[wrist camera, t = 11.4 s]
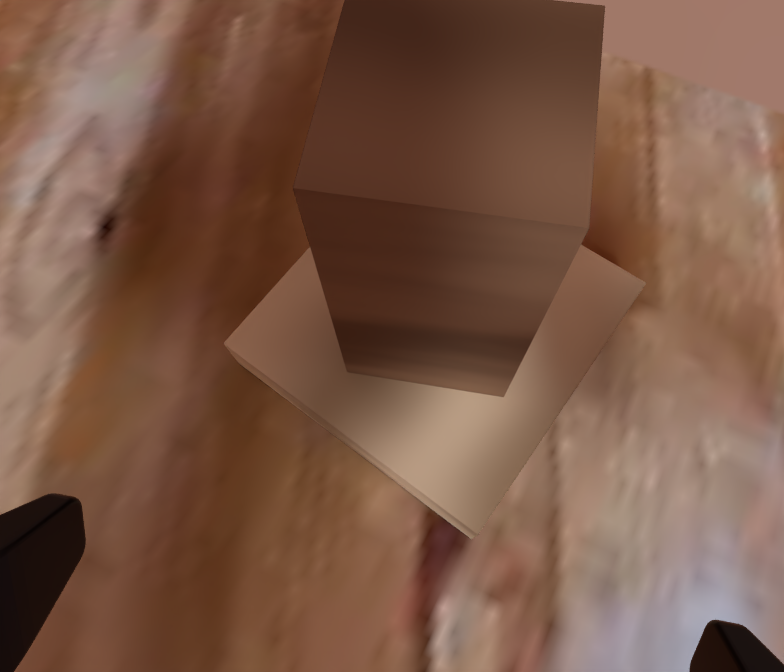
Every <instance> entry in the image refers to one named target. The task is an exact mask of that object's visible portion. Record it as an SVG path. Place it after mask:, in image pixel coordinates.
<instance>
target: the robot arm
mask: <svg viewBox="0 0 784 672" xmlns="http://www.w3.org/2000/svg"><path fill="white" fill-rule="evenodd" d="M85 543H86V538H85V529H84V521H83V512H82V505H81V502H80V501H79V499H77V498H76V497H72V496H67V495H61V494H56V493H52V494H48V495H45V496H42V497H40V498H38V499H36V500H33V501H31V502H29V503H26V504H24V505H22V506H20V507H17V508H15V509H13V510H10V511H8V512H6V513H4V514H1V515H0V672H14V671H15V669H16V668H17V666H18V665H19V663H20V662H21V660H22V659H23V657H24V656H25V654H26V653H27V651H28V650H29V648H30V646H31V645H32V643H33V641H34V640H35V638H36V636H37V635H38V633H39V631H40V629H41V628H42V626H43V624H44V622H45V621H46V619H47V617H48V615H49V614H50V612H51V610H52V608H53V607H54V605H55V603H56V601H57V600H58V598H59V596H60V594H61V593H62V591H63V589H64V587H65V586H66V584H67V582H68V580H69V579H70V577H71V575H72V573H73V572H74V570H75V568H76V566H77V565H78V563H79V561H80V559H81V557H82V555H83V552H84V549H85ZM690 672H784V664H783V663H782V662H781V661H780V660H779V659H778V658H777V657H776V656H775V655H774V654H773V653H772V652H771V651H770V650H769V649H768V648H767V647H766V646H765V645H764V644H763V643H762V642H761V641H760V640H759V639H758V638H757V637H756V636H755V635H754V634H753V633H752V632H751V631H749V630H748V629H747V628H746V627H744V626H743V625H740V624H736V623H731V622H726V621H720V620H712V621H710V622H709V623H708V624H707V625H706V627H705V629H704V632H703V634H702V636H701V639H700V641H699V643H698V646H697V648H696V650H695V653H694V655H693V657H692V660H691V664H690Z"/></svg>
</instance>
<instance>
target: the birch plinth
mask: <svg viewBox="0 0 784 672" xmlns="http://www.w3.org/2000/svg"><path fill="white" fill-rule="evenodd" d="M645 284H646V283H645V282H644V281H642V280H640V279H639V278H637V277H635V276H634V275H632V274H630V273H629V272H627V271H625V270H623V269H622V268H620V267H618V266H617V265H615V264H613V263H612V262H610V261H608V260H606V259H605V258H603V257H601V256H600V255H598V254H596V253H595V252H593V251H591V250H589V249H588V248H586V247H584V246H583V245H580V247H579V249H578V251H577V253H576V255H575V257H574V259H573V261H572V263H571V265H570V267H569V269H568V271H567V273H566V275H565V277H564V279H563V281H562V283H561V285H560V287H559V289H558V291H557V293H556V295H555V297H554V299H553V301H552V303H551V305H550V307H549V309H548V311H547V313H546V315H545V317H544V319H543V321H542V323H541V325H540V326H539V328H538V330H537V332H536V334H535V336H534V338H533V340H532V342H531V344H530V346H529V348H528V350H527V352H526V354H525V356H524V358H523V360H522V362H521V364H520V366H519V368H518V370H517V372H516V374H515V376H514V378H513V380H512V382H511V384H510V386H509V388H508V390H507V392H506V394H505V396H504V397H498V396H492V395H486V394H480V393H474V392H467V391H461V390H455V389H449V388H442V387H436V386H430V385H424V384H418V383H411V382H405V381H399V380H393V379H386V378H380V377H374V376H368V375H361V374H355V373H349V372H347V370H346V367H345V364H344V360H343V357H342V353H341V350H340V347H339V343H338V340H337V336H336V333H335V330H334V326H333V323H332V319H331V316H330V313H329V309H328V306H327V302H326V299H325V296H324V292H323V289H322V285H321V282H320V279H319V275H318V272H317V269H316V265H315V262H314V258H313V255H312V252H311V248H310V247H309V248H308V249H307V250H306V251H305V253H304V254H303V255H302V256H301V257H300V258H299V259H298V260H297V261H296V263H295V264H294V265H293V266H292V267H291V268H290V269H289V270H288V272H287V273H286V274H285V275H284V276H283V277H282V278H281V279H280V280H279V282H278V283H277V284H276V285H275V286H274V287H273V288H272V289H271V291H270V292H269V293H268V294H267V295H266V296H265V297H264V298H263V299H262V301H261V302H260V303H259V304H258V305H257V306H256V307H255V308H254V310H253V311H252V312H251V313H250V314H249V315H248V316H247V317H246V318H245V320H244V321H243V322H242V323H241V324H240V325H239V326H238V327H237V328H236V330H235V331H234V332H233V333H232V334H231V335H230V336H229V337H228V339H227V340H226V341H225V342H224V343H223V344H224V345H225V346H226V348H227V349H228V350H229V351H230V353H231V354H232V355H233V357H234V358H235V359H236V360H237V362H238V363H239V364H240V365H242V366H243V367H244V368H246V369H247V370H248V371H250V372H251V373H252V374H253V375H255V376H256V377H257V378H259V379H260V380H261V381H263V382H264V383H265V384H267V385H268V386H269V387H271V388H272V389H273V390H275V391H276V392H277V393H279V394H280V395H281V396H283V397H284V398H285V399H287V400H288V401H289V402H291V403H292V404H293V405H295V406H296V407H297V408H299V409H300V410H301V411H302V412H304V413H305V414H306V415H308V416H309V417H310V418H312V419H313V420H314V421H316V422H317V423H318V424H320V425H321V426H322V427H324V428H325V429H326V430H328V431H329V432H330V433H332V434H333V435H334V436H336V437H337V438H338V439H340V440H341V441H342V442H344V443H345V444H346V445H348V446H349V447H350V448H351V449H353V450H354V451H355V452H357V453H358V454H359V455H361V456H362V457H363V458H365V459H366V460H367V461H369V462H370V463H371V464H373V465H374V466H375V467H377V468H378V469H379V470H381V471H382V472H383V473H385V474H386V475H387V476H389V477H390V478H391V479H393V480H394V481H395V482H397V483H398V484H399V485H400V486H402V487H403V488H404V489H406V490H407V491H408V492H410V493H411V494H412V495H414V496H415V497H416V498H418V499H419V500H420V501H422V502H423V503H424V504H426V505H427V506H428V507H430V508H431V509H432V510H434V511H435V512H436V513H438V514H439V515H440V516H442V517H443V518H444V519H446V520H447V521H448V522H450V523H451V524H452V525H453V526H455V527H456V528H457V529H459V530H460V531H461V532H463V533H464V534H465V535H467V536H468V537H469V538H471V539H473V538H474V537H476V536H477V535H478V534H479V533H480V531H481V530H482V528H483V527H484V525H485V524H486V522H487V521H488V519H489V518H490V516H491V515H492V513H493V512H494V510H495V509H496V507H497V506H498V504H499V503H500V501H501V500H502V498H503V497H504V495H505V494H506V492H507V491H508V489H509V488H510V486H511V485H512V483H513V482H514V480H515V479H516V477H517V476H518V474H519V473H520V471H521V470H522V468H523V467H524V465H525V464H526V462H527V461H528V459H529V458H530V456H531V455H532V453H533V452H534V450H535V449H536V447H537V446H538V444H539V443H540V441H541V440H542V438H543V437H544V435H545V434H546V432H547V431H548V429H549V428H550V426H551V425H552V423H553V422H554V420H555V419H556V417H557V416H558V414H559V413H560V411H561V410H562V408H563V407H564V406H565V404H566V403H567V401H568V400H569V398H570V397H571V395H572V394H573V392H574V391H575V389H576V388H577V386H578V385H579V383H580V382H581V380H582V379H583V377H584V376H585V374H586V373H587V371H588V370H589V368H590V367H591V365H592V364H593V362H594V361H595V359H596V358H597V356H598V355H599V353H600V352H601V350H602V349H603V347H604V346H605V344H606V343H607V341H608V340H609V338H610V337H611V335H612V334H613V332H614V331H615V329H616V328H617V326H618V325H619V323H620V322H621V320H622V319H623V317H624V316H625V314H626V313H627V311H628V310H629V308H630V307H631V305H632V304H633V302H634V301H635V299H636V298H637V296H638V295H639V293H640V292H641V290H642V289H643V287H644V286H645Z"/></svg>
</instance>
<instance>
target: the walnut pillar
mask: <svg viewBox="0 0 784 672" xmlns="http://www.w3.org/2000/svg"><path fill="white" fill-rule="evenodd" d="M604 12H605V6H602V5H592V4H583V3H573V2H564V1H554V0H345V1H344V5H343V8H342V12H341V16H340V19H339V23H338V26H337V30H336V34H335V37H334V41H333V45H332V48H331V52H330V55H329V59H328V63H327V66H326V70H325V73H324V77H323V81H322V84H321V88H320V92H319V95H318V99H317V102H316V106H315V110H314V113H313V117H312V120H311V124H310V128H309V131H308V135H307V138H306V142H305V146H304V149H303V153H302V157H301V160H300V164H299V167H298V171H297V175H296V178H295V182H294V185H293V190H294V194H295V197H296V201H297V204H298V207H299V211H300V214H301V218H302V221H303V224H304V228H305V231H306V235H307V238H308V241H309V245H310V248H311V252H312V255H313V258H314V262H315V265H316V269H317V272H318V275H319V279H320V282H321V285H322V289H323V292H324V296H325V299H326V302H327V306H328V309H329V313H330V316H331V319H332V323H333V326H334V330H335V333H336V336H337V340H338V343H339V347H340V350H341V353H342V357H343V360H344V364H345V367H346V370H347V372H349V373H355V374H361V375H368V376H374V377H380V378H386V379H393V380H399V381H405V382H411V383H418V384H424V385H430V386H436V387H442V388H449V389H455V390H461V391H467V392H474V393H480V394H486V395H492V396H498V397H504V396H505V394H506V392H507V390H508V388H509V386H510V384H511V382H512V380H513V378H514V376H515V374H516V372H517V370H518V368H519V366H520V364H521V362H522V360H523V358H524V356H525V354H526V352H527V350H528V348H529V346H530V344H531V342H532V340H533V338H534V336H535V334H536V332H537V330H538V328H539V326H540V325H541V323H542V321H543V319H544V317H545V315H546V313H547V311H548V309H549V307H550V305H551V303H552V301H553V299H554V297H555V295H556V293H557V291H558V289H559V287H560V285H561V283H562V281H563V279H564V277H565V275H566V273H567V271H568V269H569V267H570V265H571V263H572V261H573V259H574V257H575V255H576V253H577V251H578V249H579V247H580V245H581V243H582V241H583V239H584V237H585V236H586V234H587V232H588V230H589V224H590V210H591V196H592V182H593V168H594V154H595V140H596V125H597V111H598V97H599V83H600V69H601V55H602V41H603V27H604V26H603V25H604Z"/></svg>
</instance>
